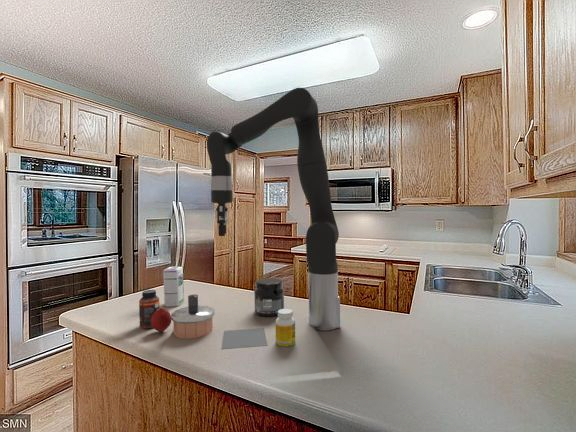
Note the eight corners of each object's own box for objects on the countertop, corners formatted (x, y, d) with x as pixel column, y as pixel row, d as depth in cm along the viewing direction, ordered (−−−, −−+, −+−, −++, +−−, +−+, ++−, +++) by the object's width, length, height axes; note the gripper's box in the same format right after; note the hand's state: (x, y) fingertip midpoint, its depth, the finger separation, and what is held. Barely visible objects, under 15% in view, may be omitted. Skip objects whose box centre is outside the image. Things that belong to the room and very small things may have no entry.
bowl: (214, 325, 98) (213, 308, 98) (210, 339, 87) (210, 320, 87) (178, 327, 96) (178, 310, 96) (170, 343, 85) (170, 323, 85)
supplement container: (274, 307, 115) (274, 276, 114) (290, 316, 106) (289, 281, 105) (249, 313, 109) (248, 280, 108) (263, 322, 100) (263, 286, 100)
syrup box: (179, 306, 118) (178, 269, 117) (163, 306, 118) (162, 269, 117) (184, 301, 123) (183, 266, 123) (169, 302, 123) (168, 266, 123)
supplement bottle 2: (276, 341, 86) (275, 307, 85) (295, 341, 86) (294, 307, 85) (275, 350, 80) (274, 314, 80) (295, 350, 80) (295, 314, 80)
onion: (165, 326, 97) (165, 302, 97) (175, 331, 94) (174, 305, 93) (147, 332, 93) (146, 306, 92) (157, 337, 89) (156, 310, 89)
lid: (216, 307, 99) (215, 289, 98) (212, 321, 86) (212, 300, 86) (176, 310, 97) (175, 291, 97) (166, 324, 84) (166, 303, 84)
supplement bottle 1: (163, 325, 98) (162, 290, 98) (144, 331, 94) (143, 294, 94) (155, 321, 102) (154, 287, 102) (136, 326, 98) (135, 291, 98)
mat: (264, 331, 93) (264, 327, 93) (267, 349, 81) (267, 345, 81) (224, 334, 91) (223, 330, 91) (221, 352, 79) (221, 349, 79)
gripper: (231, 188, 102) (232, 236, 103) (232, 190, 116) (233, 233, 117) (208, 188, 101) (209, 237, 101) (212, 190, 115) (213, 233, 115)
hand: (222, 235), depth 109 cm, fingers open, 8 cm apart
